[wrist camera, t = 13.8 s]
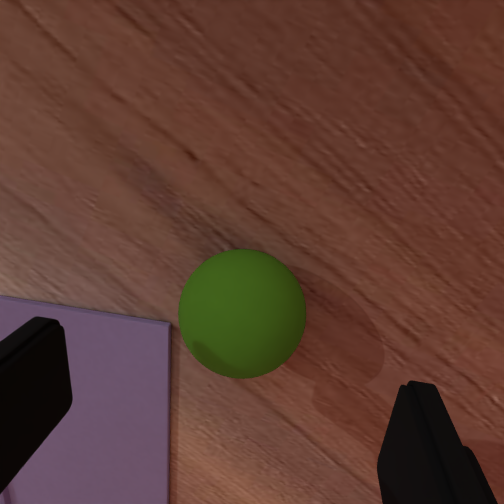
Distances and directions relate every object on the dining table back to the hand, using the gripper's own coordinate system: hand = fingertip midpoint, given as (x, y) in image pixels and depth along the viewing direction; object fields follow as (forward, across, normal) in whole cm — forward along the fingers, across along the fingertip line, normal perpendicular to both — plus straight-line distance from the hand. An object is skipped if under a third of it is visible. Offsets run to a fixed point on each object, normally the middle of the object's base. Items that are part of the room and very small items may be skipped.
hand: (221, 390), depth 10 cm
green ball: (+5, 0, +1) cm, 5 cm away
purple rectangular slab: (+7, +11, +12) cm, 18 cm away
